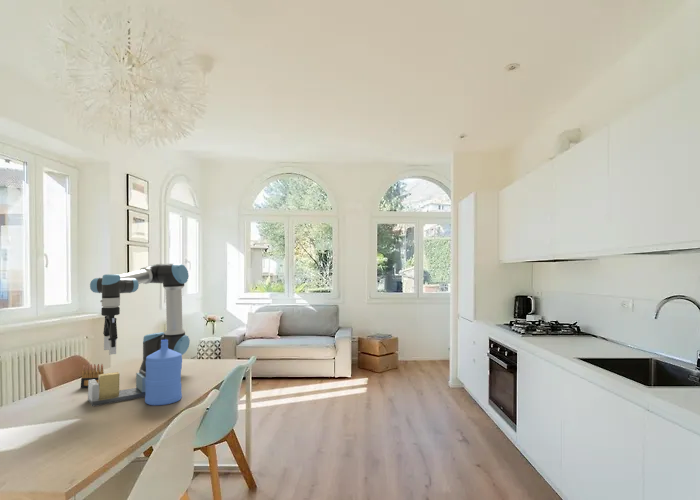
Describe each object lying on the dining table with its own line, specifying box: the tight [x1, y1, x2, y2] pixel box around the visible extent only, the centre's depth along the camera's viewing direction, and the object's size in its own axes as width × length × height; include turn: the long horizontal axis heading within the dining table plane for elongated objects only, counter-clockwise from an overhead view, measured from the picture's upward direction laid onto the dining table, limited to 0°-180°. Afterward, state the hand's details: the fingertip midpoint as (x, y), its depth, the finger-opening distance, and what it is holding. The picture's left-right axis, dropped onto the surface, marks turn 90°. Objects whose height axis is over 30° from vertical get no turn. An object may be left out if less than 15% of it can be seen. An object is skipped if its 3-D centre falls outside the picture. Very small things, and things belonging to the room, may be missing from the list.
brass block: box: [98, 371, 120, 398], centre depth 195 cm, size 8×4×10 cm, turn 129°
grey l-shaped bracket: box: [87, 379, 145, 407], centre depth 199 cm, size 26×12×9 cm, turn 129°
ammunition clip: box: [80, 363, 105, 389], centre depth 217 cm, size 11×2×12 cm, turn 98°
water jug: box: [144, 340, 183, 406], centre depth 194 cm, size 16×16×28 cm
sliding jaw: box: [135, 369, 146, 392], centre depth 205 cm, size 4×12×8 cm, turn 40°
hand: (109, 352), depth 196 cm, fingers open, 13 cm apart
